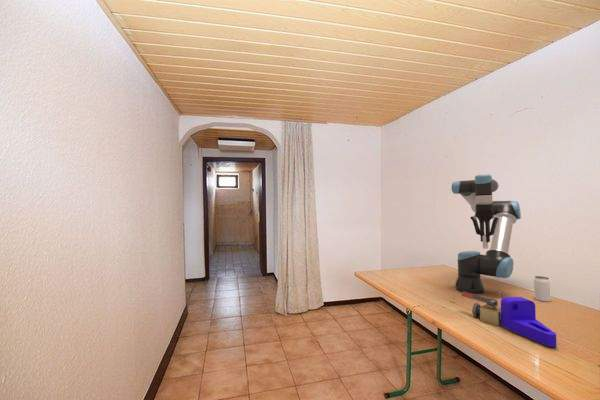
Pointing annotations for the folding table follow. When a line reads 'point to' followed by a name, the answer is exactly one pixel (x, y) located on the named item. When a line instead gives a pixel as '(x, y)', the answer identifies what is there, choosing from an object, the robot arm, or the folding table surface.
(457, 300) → the folding table surface
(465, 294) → the lever
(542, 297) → the can
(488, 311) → the valve
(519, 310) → the bracket
